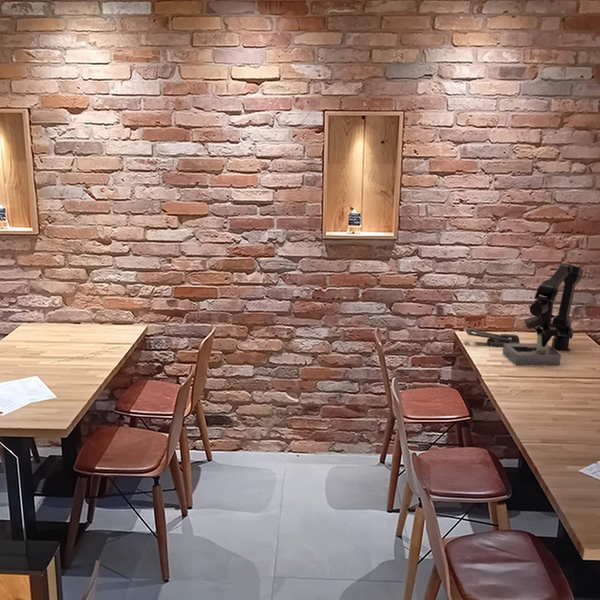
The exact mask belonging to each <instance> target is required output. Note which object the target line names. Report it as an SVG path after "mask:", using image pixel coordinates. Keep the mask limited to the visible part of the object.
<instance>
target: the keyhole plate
mask: <svg viewBox="0 0 600 600" xmlns="http://www.w3.org/2000/svg"><path fill="white" fill-rule="evenodd" d="M536 347H537V342H536V343H535V342H534V343H531V342H530V343H526V342H525V343H520V344H504V345H503V348H502V354H503V355H504V357H506V358H507V359H508V360H509V361H510V362H511V361H512V362H511V363H512V364H514V365H515V366H560V365H561V359H562V355H561V353H559V352H558V351H557V350H555V349H554V348H553V347H551V345H549V344H548V343H547V348H546V351H536Z"/></svg>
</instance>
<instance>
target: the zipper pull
mask: <svg viewBox="0 0 600 600" xmlns="http://www.w3.org/2000/svg"><path fill="white" fill-rule="evenodd" d="M465 329H466V330H465V332H466V334H467V335H468V336H473V337H479V338H487V340H486V344H487V346H488V345H489V346H488V347H490V346H492V347H491V348H499V347H503V345H504V344H520V337H519V336H518V334H510V333H500V334H496V333H493V332H487V331H484V330H483V331H482V330H477V329H474V328H473V329H471V328H465Z"/></svg>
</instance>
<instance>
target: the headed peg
mask: <svg viewBox="0 0 600 600" xmlns="http://www.w3.org/2000/svg"><path fill="white" fill-rule="evenodd" d="M536 343H537V347H536V351H546V348H547V344H548V343H547V344H546V346H545V347H542V335H541V334H538V336H537V340H536Z"/></svg>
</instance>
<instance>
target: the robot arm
mask: <svg viewBox="0 0 600 600" xmlns="http://www.w3.org/2000/svg"><path fill="white" fill-rule="evenodd" d="M583 274H584V269H582V267H581V266H576V265H574V264H570V263H565V262H563V263H562V262H561V263H560V264H559V267H558V268H557V269H556V271H555V272H554V273H553V275H552V276H551V277H550V278H549V279H547V280H544V281H542V283H540V285H539V286H538V287H537V290H536V292H535V295H534V297H533V298H534V302H533V303H532V304H530V306H529V312H530V314H531V315H533V316H531V317H529V318H525V319H524V320H523V321H524V323H525V327H526V328H527V329H529V330H532V329H533V330H534V331H535V332H536V334H537V337H538V334H541V335H542V347H545V346H546V344H548V343H549V341H550V340H552V341H551V345H550V347H552V348H553V349H554V350H555V351H557V352H558V351H561V352H562V351H571V349H570V348H569V346H570V345H569V343H570V339H573V337H574V330H573V328H572V320H571V318H570V313H571V310H572V309H571V307H572V304H573V299H574V294H575V289H576V285H578V283H580V282H581V279H582V277H583V276H584V275H583ZM562 283H564V285H563V291H562V294H561V300H560V304H559V309H558V314H557V315H556V316H555V315H554V314H553V311H554V302H555V301H556V299H557V296H558V293H559V287H560V285H561V284H562Z"/></svg>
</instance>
